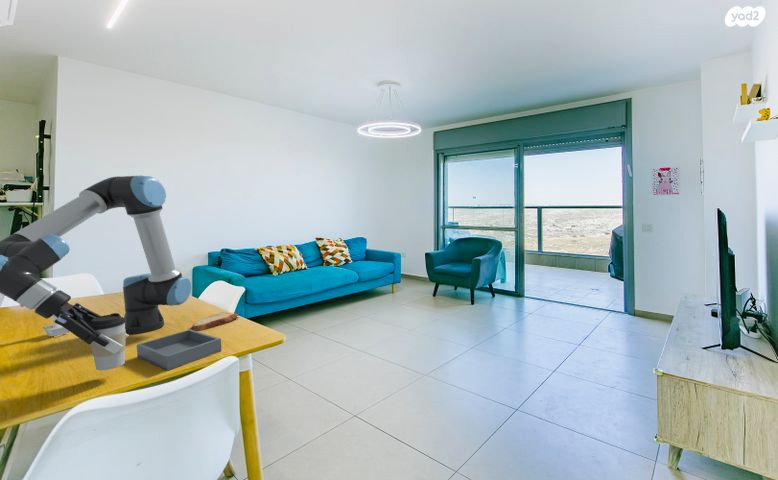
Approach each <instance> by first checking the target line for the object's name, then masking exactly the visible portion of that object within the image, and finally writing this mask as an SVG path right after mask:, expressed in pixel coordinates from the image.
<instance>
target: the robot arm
mask: <svg viewBox="0 0 778 480" xmlns="http://www.w3.org/2000/svg"><path fill="white" fill-rule="evenodd" d="M166 198H167V193H166V189H165V187H164V186H163V184H162V183H161V182H160V180H158V179H157V178H155V177H153V176H149V175H126V176H125V175H123V176H112V177H108V178H106V179H103V180H100V181H98V182H96V183H94V184H92V185H90V186H88V187H86V188H85V189H84V190H83V189H82V191H80V192H79V194H78V196H77V197H76V198H73V199H72V200H70V201H68V202H67V203H65V204H64V205H62V206H59V207H58V208H57V209H54V210H53V211H51V212H49V213H48V214H46V215H44V216H43V217H41V218H39V219H38V220H37V219H36V220H35V221H33V222H32V223H30V224H28V225H27V226H25V227H23V228H21V229H20V230H18V231H16V232H14V233H13V234H11V235H8V236H7V237H5V238H4V239H2V240H0V294H2V295H3V296H6V298H9V299H11V300H12V301H14V302H16V303H17V304H19V307H21V308H23V307H25V308H26V309H29V310H30V311H31V310H34V313H35V314H37V315H39V316H40V317H42V318H44V319H46V320H49V319H50V318H52V316H53V315H55V316H56V317H57V319H56V320H55V321H54V322H55V323H57V324H59V325H61V326H63V327H64V328H65V329H67V330H68V331H69V333H71V334H73V335H75V336H76V337H77V338H79V339H80V340H82V342H84V343H86V344H87V345H90V344H91V343H92V342H94V343H96V344H97V345H99V346H101V347H103V348H104V349H106V350H108V351H110V352H112V353H113V354H116V353H117V352H118V351H119V350H120V348H121V347H122V346H123V345H121V344H119V343H117V342H116V341H114V340H112V339H110V338H109V337H107V336H105V335H104V334H102V333H101V334H99V333H98V332H96V331H95V330H94V329H93V328H92V327H91V326H89V325H88V323H90V322H91V320H92V319H93V318H96V317H99V316H101V314H98V313H96V312H94V311H92V310H90V309H88V308H87V307H84V306H83V305H81V304H80V303H78V302H76V303H74V305H73V304H71V303H69V301H70V300H71V299H72V297H71V296H70V295H69V294H68V293H66V292H64V291H62V290H59V289H57V287H56V286H55V285H53V284H52V283H50V282H49V281H48V282H47V281H46V280H44V279H43V278H41V277H40V275H41V274H43V273H44V272H45V271H47V270H48V269H49V268H51V267H52V266H54V265H55V264H57V263H59V262H60V261H62V259H63V258H64V257H65V256H67V255H68V254H69V252H70V246H69V244H68V243H67V242H66V240H64V239H63V238H61V237H62V236H63V235H65V234H66V233H68V232H70V231H71V230H72V229H75V228H76V227H77V226H79V225H80V224H82V223H84V222H85V221H87V220H89V219H91V217H93V216H95V215H97V214H104V213H105V212H106V211H108V210H112V209H116V208H125V212H126V214H127V216H129V217H131V218H133V220H134V224H135V227H136V231H137V233H138V236H139V240H140V243H141V246H142V249H143V253H144V255H145V259H146V262H147V264H148V267H149V268H148V269H149V270H150V273H149V272H148V273H142V274H137V275H132V276H127V277H126V278H124V279H123V282H122V283H123V285H122V290H123V291H122V292H123V302H124V315H123V318H125V321H126V322H125V329H126V339H127V338H128V337H129V336H130V335H132V334H134V335H135V334H142V333H147V332H151V331H155V330H158V329H160V328H162V327H164V326H165V319H164V317H163V315H162V312H161V311H160V308H159V306H170V307H173V306H180V305H183V304H184V303H186V301H187V300H188V299H189V297H190V296H191V295H190V294H191V293H192V282H191V280H190V279H189V278H187V277H185V276H183V274H182V271H181V269H180V268H176V266H175V262H174V259H173V255H172V252H171V249H170V245H169V241H168V238H167V235H166V232H165V227H164V224H163V220H162V218H161V214H160V213H161V212H162V211H163V205H164V204H165V203H166ZM129 334H130V335H129Z"/></svg>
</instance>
